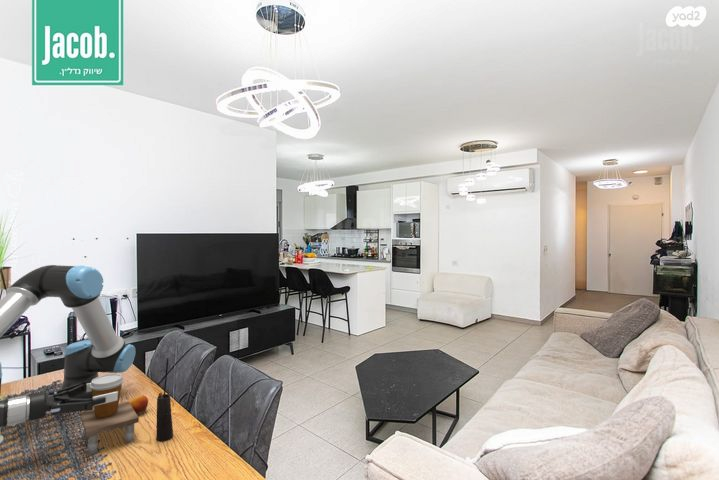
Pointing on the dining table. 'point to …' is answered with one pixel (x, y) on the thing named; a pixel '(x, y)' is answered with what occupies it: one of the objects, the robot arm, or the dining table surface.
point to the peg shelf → (108, 424)
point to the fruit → (139, 403)
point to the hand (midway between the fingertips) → (113, 389)
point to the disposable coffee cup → (106, 386)
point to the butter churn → (164, 415)
